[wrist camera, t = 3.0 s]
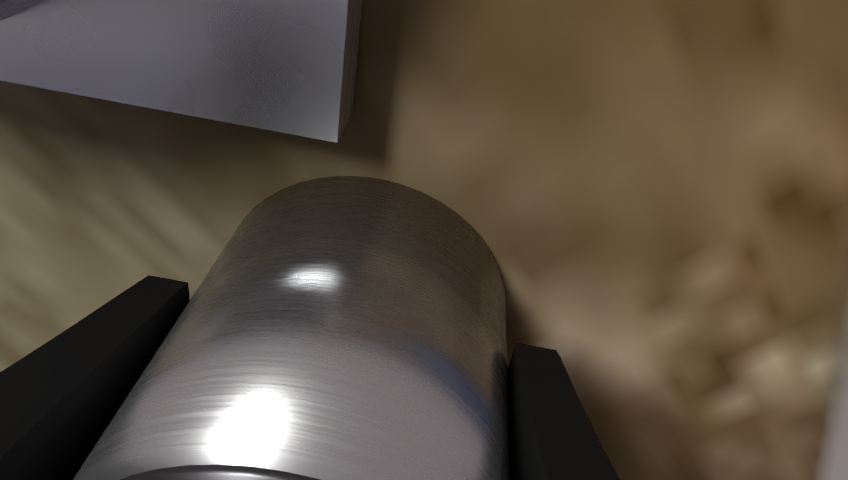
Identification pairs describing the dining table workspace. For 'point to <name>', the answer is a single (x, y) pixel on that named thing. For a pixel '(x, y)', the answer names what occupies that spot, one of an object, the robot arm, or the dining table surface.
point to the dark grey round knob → (328, 351)
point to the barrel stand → (194, 57)
